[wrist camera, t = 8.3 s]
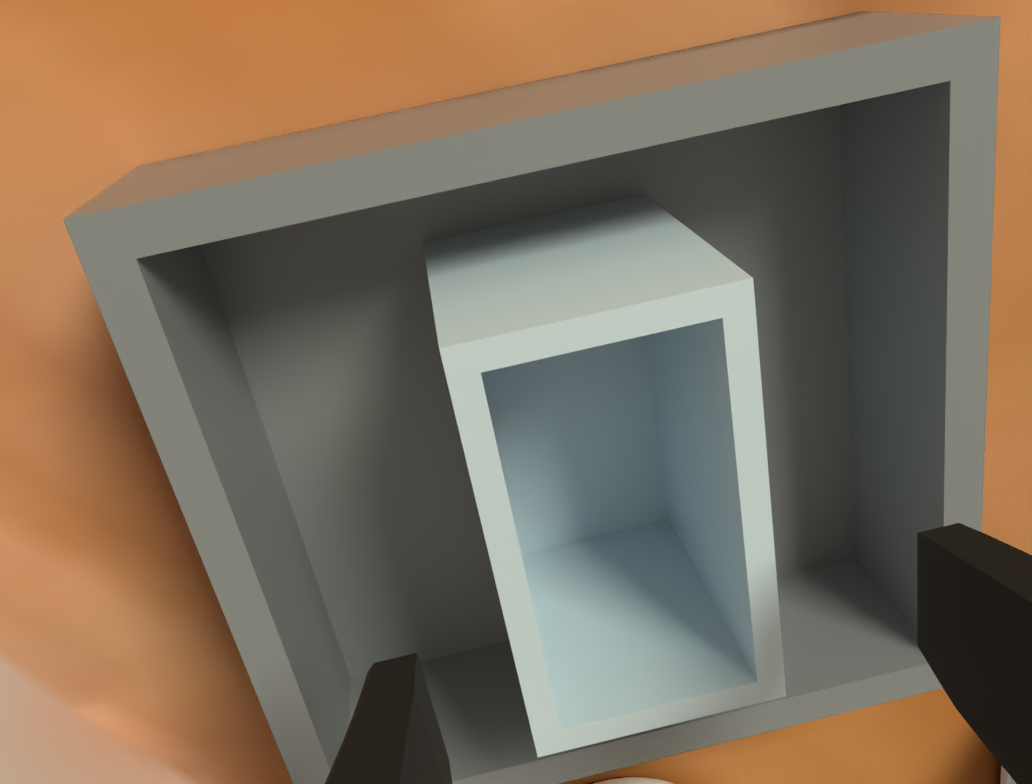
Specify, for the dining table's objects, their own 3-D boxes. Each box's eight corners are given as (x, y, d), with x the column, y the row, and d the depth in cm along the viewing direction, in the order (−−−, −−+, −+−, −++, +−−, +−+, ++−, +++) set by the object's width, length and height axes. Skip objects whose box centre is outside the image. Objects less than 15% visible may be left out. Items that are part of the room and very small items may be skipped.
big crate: (874, 561, 24) (976, 680, 20) (329, 693, 23) (317, 844, 19) (861, 11, 18) (1000, 16, 14) (137, 166, 17) (62, 218, 13)
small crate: (685, 520, 22) (786, 695, 16) (498, 564, 22) (537, 757, 16) (643, 193, 18) (753, 278, 13) (422, 242, 18) (439, 348, 13)
